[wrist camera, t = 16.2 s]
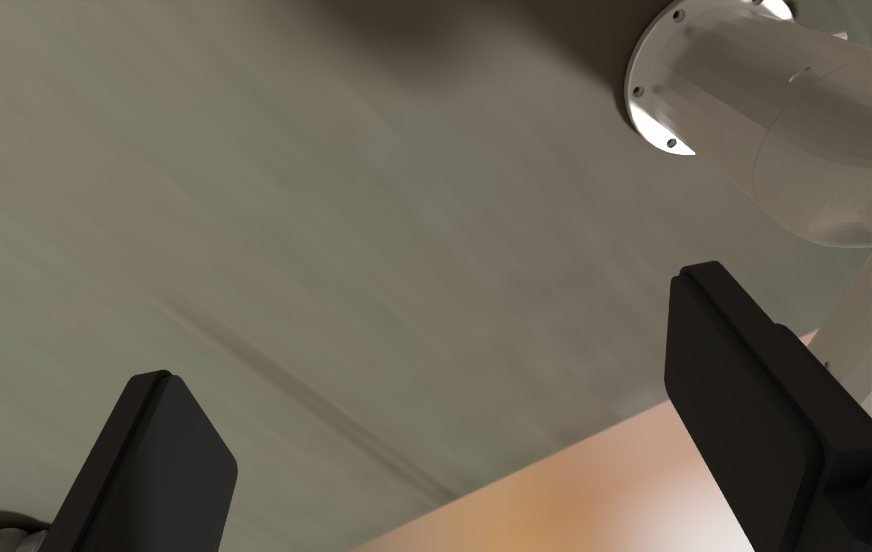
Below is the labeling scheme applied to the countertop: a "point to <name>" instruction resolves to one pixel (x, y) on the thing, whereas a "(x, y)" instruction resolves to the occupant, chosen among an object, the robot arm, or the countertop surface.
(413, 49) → the countertop surface
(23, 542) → the bundt pan
